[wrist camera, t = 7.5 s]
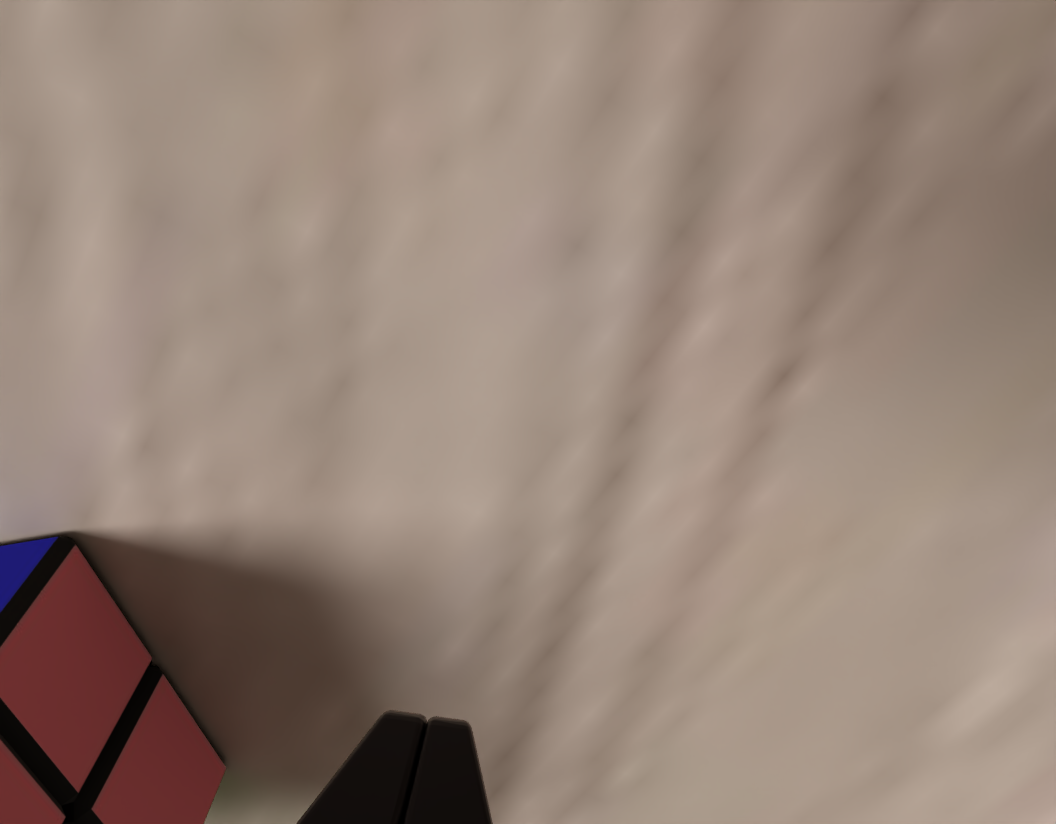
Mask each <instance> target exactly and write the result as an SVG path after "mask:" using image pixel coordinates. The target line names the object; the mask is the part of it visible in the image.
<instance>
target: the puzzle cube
mask: <svg viewBox="0 0 1056 824" xmlns="http://www.w3.org/2000/svg"><path fill="white" fill-rule="evenodd" d="M151 660H152V657H151V656H150V654H149V653H148V651H147V650H146V648H145V647H144V645H143V644H142V642H141V641H140V639H139V638H138V636H137V635H136V633H135V632H134V630H133V629H132V627H131V626H130V624H129V623H128V621H127V620H126V618H125V617H124V615H123V614H122V612H121V611H120V609H119V608H118V607H117V605H116V604H115V602H114V601H113V599H112V598H111V596H110V595H109V593H108V592H107V590H106V589H105V587H104V586H103V584H102V583H101V581H100V580H99V578H98V577H97V575H96V574H95V572H94V571H93V569H92V568H91V566H90V565H89V563H88V562H87V561H86V559H85V558H84V556H83V555H82V553H81V552H80V550H79V549H78V547H77V546H76V544H75V543H74V541H73V540H72V539H71V538H69V537H60V536H58V537H52V538H46V539H40V540H34V541H28V542H22V543H16V544H9V545H3V546H0V824H204V821H205V819H206V817H207V814H208V812H209V809H210V807H211V804H212V802H213V800H214V797H215V795H216V792H217V790H218V787H219V785H220V783H221V780H222V778H223V775H224V773H225V770H226V767H225V765H224V764H223V762H222V761H221V759H220V758H219V756H218V755H217V753H216V752H215V751H214V749H213V748H212V746H211V745H210V743H209V742H208V740H207V739H206V737H205V736H204V734H203V733H202V731H201V730H200V728H199V727H198V725H197V724H196V722H195V721H194V719H193V718H192V716H191V715H190V713H189V712H188V710H187V709H186V707H185V706H184V704H183V703H182V702H181V700H180V699H179V697H178V696H177V694H176V693H175V691H174V690H173V688H172V687H171V685H170V684H169V682H168V681H167V679H166V678H165V676H164V675H163V673H162V672H161V670H160V669H159V668H158V667H156V666H154V667H148V666H149V664H150V662H151Z"/></svg>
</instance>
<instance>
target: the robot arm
mask: <svg viewBox="0 0 1056 824" xmlns="http://www.w3.org/2000/svg"><path fill="white" fill-rule="evenodd" d="M297 824H493V823H492V818H491V814H490V809H489V805H488V800H487V796H486V791H485V787H484V782H483V778H482V773H481V768H480V764H479V759H478V755H477V750H476V746H475V741H474V737H473V732H472V728H471V726H470V724H469V723H468V722H467V721H464V720H458V719H451V718H444V717H437V716H436V717H432V718H430V719H429V720H428V722H427V720H426V717H424V716H423V715H421V714H416V713H409V712H402V711H394V710H390V711H387V712H385V713H384V714H383V715H382V716H380V718H379V719H378V720H377V721H376V723H375V724H374V725H373V726H372V728H371V729H370V730H369V731H368V733H367V734H366V735H365V737H364V738H363V739H362V740H361V742H360V743H359V744H358V746H357V747H356V748H355V749H354V751H353V752H352V753H351V754H350V756H349V757H348V758H347V760H346V761H345V762H344V763H343V765H342V766H341V767H340V769H339V770H338V771H337V772H336V774H335V775H334V776H333V778H332V779H331V780H330V781H329V783H328V784H327V785H326V786H325V788H324V789H323V790H322V792H321V793H320V794H319V795H318V797H317V798H316V799H315V801H314V802H313V803H312V804H311V806H310V807H309V808H308V810H307V811H306V812H305V813H304V815H303V816H302V817H301V818H300V820H299V821H298V822H297Z"/></svg>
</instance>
